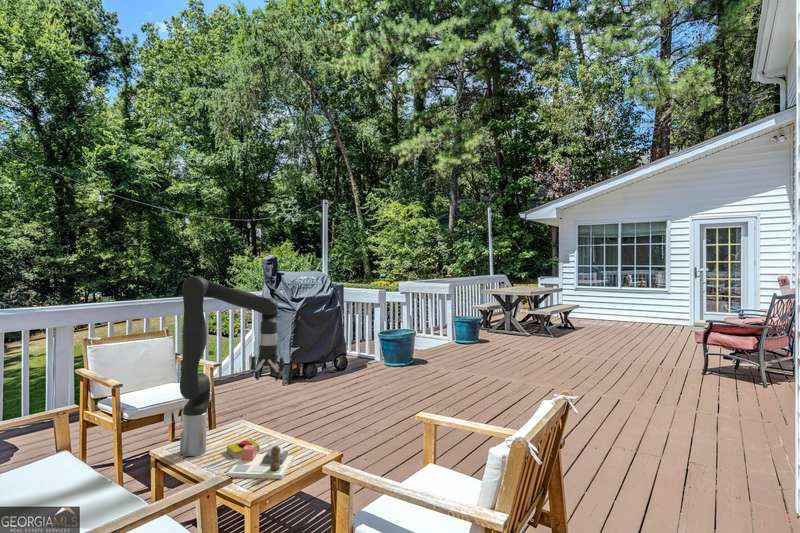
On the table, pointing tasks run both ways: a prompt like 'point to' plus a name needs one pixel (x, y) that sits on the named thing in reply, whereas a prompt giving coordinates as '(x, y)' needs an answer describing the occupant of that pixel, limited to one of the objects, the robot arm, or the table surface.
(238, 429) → the table surface
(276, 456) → the pawn
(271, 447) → the dome
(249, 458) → the die
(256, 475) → the board
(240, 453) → the emergency button
